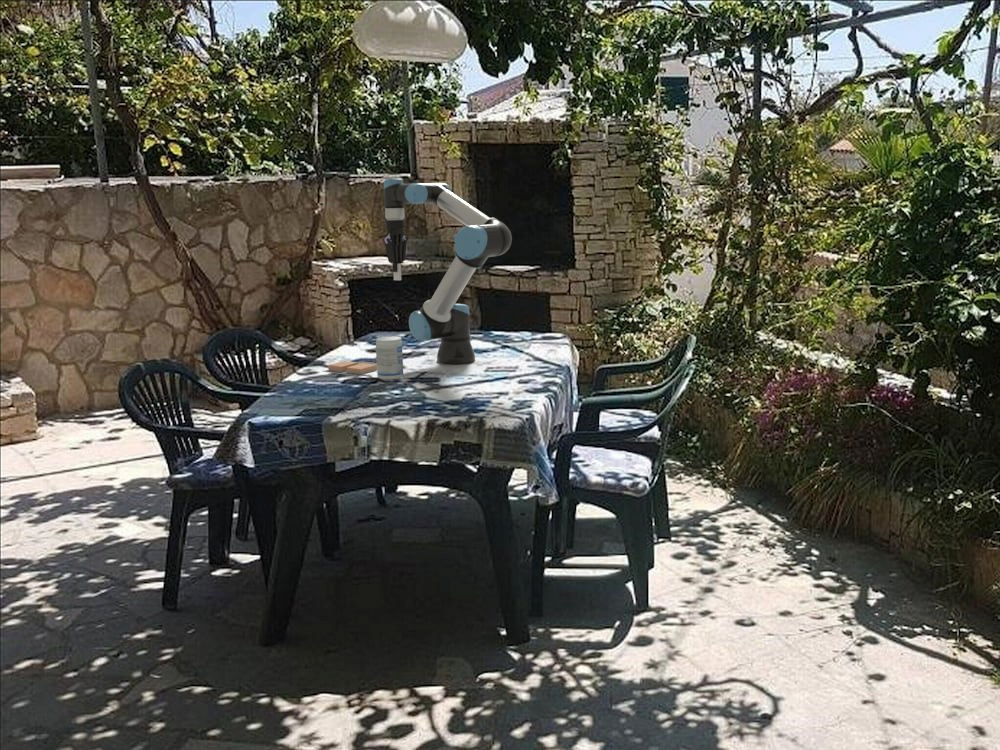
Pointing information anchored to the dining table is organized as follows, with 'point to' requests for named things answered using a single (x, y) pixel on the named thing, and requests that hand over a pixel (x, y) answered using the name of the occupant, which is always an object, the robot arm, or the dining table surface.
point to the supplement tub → (389, 358)
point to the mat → (349, 373)
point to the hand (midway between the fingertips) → (397, 280)
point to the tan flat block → (341, 366)
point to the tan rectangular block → (361, 368)
